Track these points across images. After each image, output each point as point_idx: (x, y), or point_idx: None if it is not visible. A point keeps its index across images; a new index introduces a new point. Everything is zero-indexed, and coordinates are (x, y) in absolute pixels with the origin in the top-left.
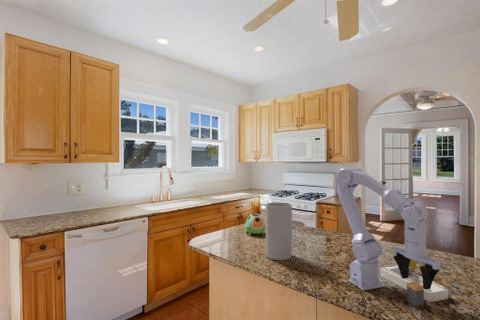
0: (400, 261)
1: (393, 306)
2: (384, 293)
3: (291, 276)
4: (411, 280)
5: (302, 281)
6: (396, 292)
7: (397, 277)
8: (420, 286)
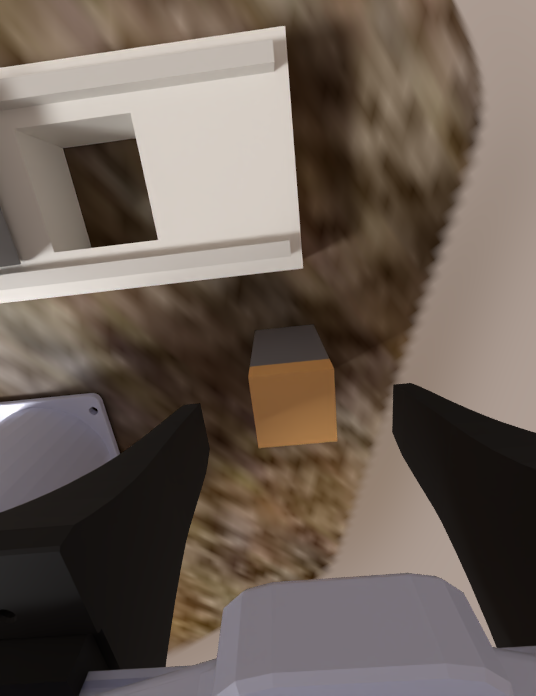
0: (164, 646)
1: (291, 474)
2: None
3: None
4: (119, 265)
5: None
6: (164, 366)
7: (29, 299)
8: (331, 397)
